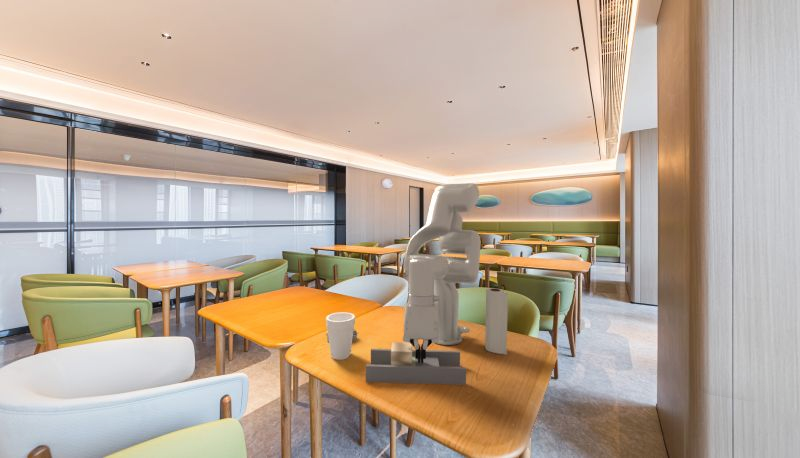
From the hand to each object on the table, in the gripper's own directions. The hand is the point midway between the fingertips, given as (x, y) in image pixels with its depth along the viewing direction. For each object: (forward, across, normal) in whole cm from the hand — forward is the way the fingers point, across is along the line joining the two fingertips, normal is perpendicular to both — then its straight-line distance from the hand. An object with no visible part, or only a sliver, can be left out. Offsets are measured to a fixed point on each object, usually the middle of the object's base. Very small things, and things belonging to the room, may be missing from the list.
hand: (420, 360), depth 87 cm
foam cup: (+4, +26, -10) cm, 29 cm away
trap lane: (+4, +2, 0) cm, 4 cm away
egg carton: (+4, +29, -22) cm, 37 cm away
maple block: (+1, +6, 0) cm, 6 cm away
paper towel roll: (+4, -27, -17) cm, 32 cm away
